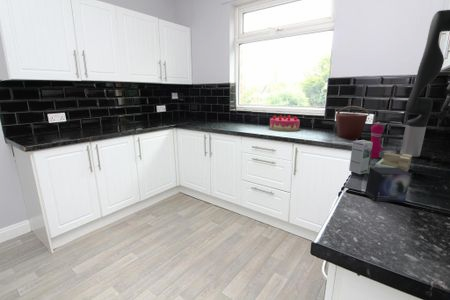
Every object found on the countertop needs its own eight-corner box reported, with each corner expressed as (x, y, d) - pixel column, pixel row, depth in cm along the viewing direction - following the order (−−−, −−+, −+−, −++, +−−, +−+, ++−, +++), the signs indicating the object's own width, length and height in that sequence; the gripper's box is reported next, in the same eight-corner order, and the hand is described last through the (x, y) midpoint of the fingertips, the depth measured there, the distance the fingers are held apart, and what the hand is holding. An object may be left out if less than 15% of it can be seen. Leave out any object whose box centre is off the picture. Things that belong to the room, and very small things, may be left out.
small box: (374, 202, 78) (380, 173, 76) (363, 194, 85) (368, 166, 82) (406, 203, 78) (412, 173, 76) (392, 194, 85) (398, 167, 82)
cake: (266, 126, 241) (266, 114, 238) (292, 126, 245) (293, 114, 242) (274, 131, 214) (275, 117, 211) (303, 131, 218) (305, 117, 215)
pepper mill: (362, 155, 136) (367, 121, 131) (370, 154, 139) (376, 120, 134) (374, 158, 130) (380, 122, 125) (382, 157, 132) (389, 122, 128)
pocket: (382, 162, 123) (383, 157, 122) (400, 165, 118) (401, 161, 117) (374, 169, 112) (375, 164, 112) (393, 173, 107) (394, 167, 107)
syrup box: (359, 174, 104) (364, 143, 101) (348, 170, 110) (352, 140, 106) (368, 173, 107) (373, 142, 103) (356, 169, 112) (361, 139, 108)
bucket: (372, 139, 183) (377, 107, 177) (350, 141, 176) (355, 107, 170) (346, 134, 206) (350, 105, 199) (326, 135, 198) (330, 105, 192)
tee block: (384, 164, 120) (387, 151, 118) (409, 169, 113) (412, 155, 111) (380, 168, 113) (382, 154, 111) (405, 174, 106) (409, 159, 104)
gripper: (452, 76, 103) (430, 112, 112) (452, 80, 94) (428, 119, 103) (475, 80, 99) (450, 118, 108) (476, 85, 90) (449, 125, 99)
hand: (439, 118), depth 106 cm, fingers closed
